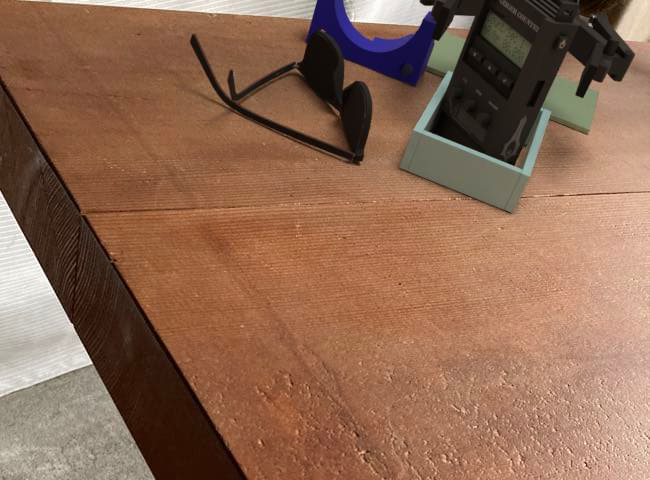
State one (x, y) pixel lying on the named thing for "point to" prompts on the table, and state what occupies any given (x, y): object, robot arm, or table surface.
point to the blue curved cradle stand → (376, 43)
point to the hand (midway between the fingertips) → (513, 52)
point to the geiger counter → (505, 74)
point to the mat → (558, 100)
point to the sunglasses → (327, 81)
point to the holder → (470, 160)
